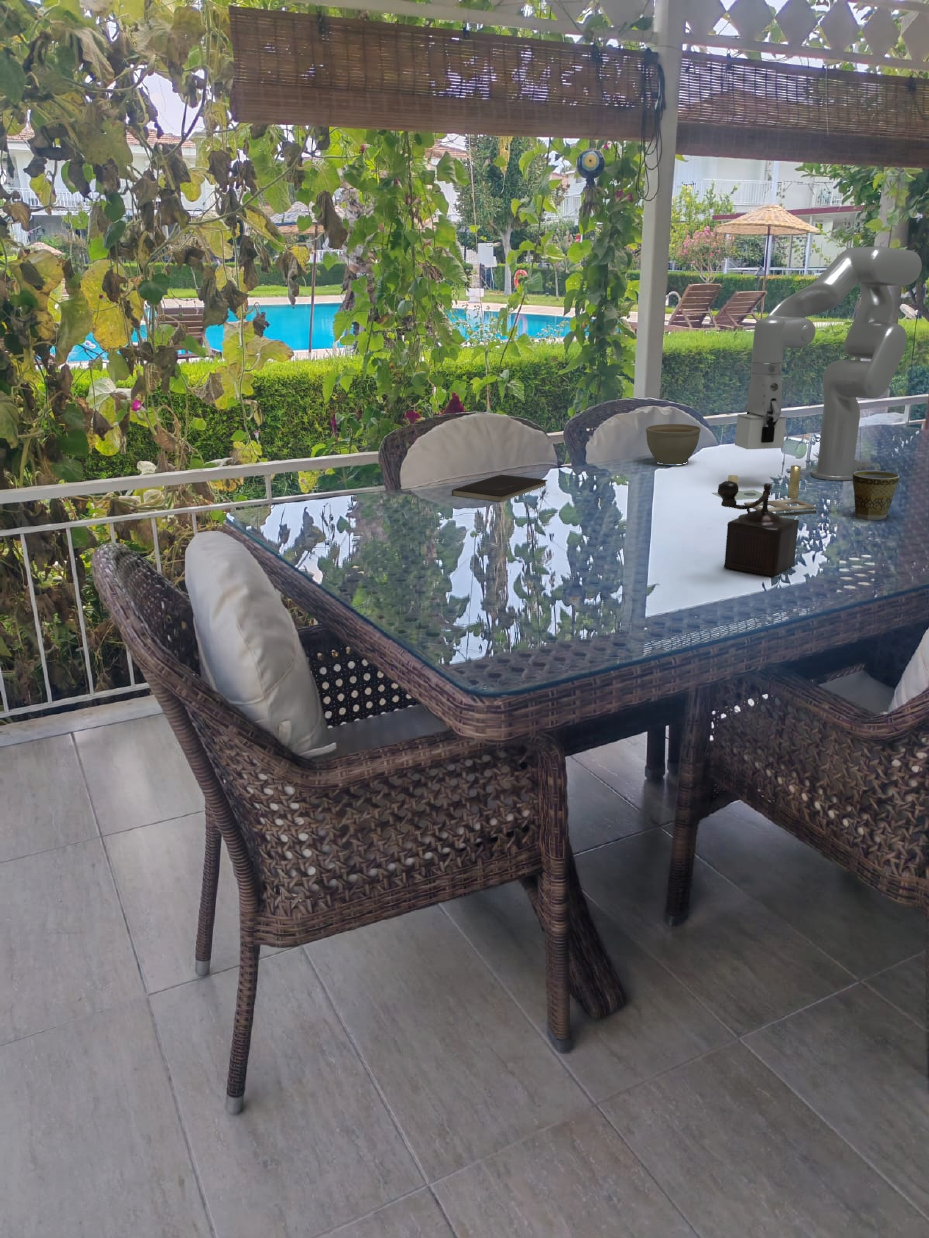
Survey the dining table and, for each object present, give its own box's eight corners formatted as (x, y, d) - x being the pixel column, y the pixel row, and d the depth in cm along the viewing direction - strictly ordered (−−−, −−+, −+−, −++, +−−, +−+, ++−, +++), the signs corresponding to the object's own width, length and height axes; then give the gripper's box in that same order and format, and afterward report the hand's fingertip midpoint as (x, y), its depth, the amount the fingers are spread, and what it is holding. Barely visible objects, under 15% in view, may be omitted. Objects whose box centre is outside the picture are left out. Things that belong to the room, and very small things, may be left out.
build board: (796, 505, 232) (796, 498, 232) (816, 513, 224) (816, 506, 223) (743, 509, 230) (744, 502, 229) (761, 517, 221) (762, 510, 221)
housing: (769, 443, 249) (772, 413, 247) (783, 448, 243) (786, 416, 240) (734, 445, 247) (737, 414, 245) (747, 449, 241) (750, 417, 238)
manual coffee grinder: (743, 556, 192) (750, 468, 186) (796, 565, 185) (805, 475, 179) (707, 574, 181) (713, 481, 175) (761, 585, 174) (770, 489, 168)
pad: (753, 494, 244) (755, 470, 242) (771, 502, 236) (773, 477, 234) (710, 497, 242) (712, 473, 240) (726, 505, 234) (728, 480, 232)
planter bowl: (635, 461, 292) (636, 425, 288) (681, 457, 296) (683, 422, 293) (660, 470, 277) (662, 433, 274) (708, 466, 282) (711, 429, 278)
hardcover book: (547, 488, 260) (547, 479, 260) (501, 504, 243) (501, 495, 242) (499, 482, 269) (499, 474, 268) (451, 497, 252) (451, 488, 251)
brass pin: (794, 500, 237) (797, 465, 234) (799, 502, 235) (803, 466, 232) (785, 501, 237) (789, 465, 234) (790, 503, 234) (794, 467, 231)
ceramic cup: (898, 522, 214) (904, 479, 211) (851, 521, 216) (857, 478, 213) (886, 509, 226) (891, 468, 223) (842, 508, 228) (847, 467, 225)
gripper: (797, 372, 231) (790, 444, 237) (763, 366, 247) (756, 434, 253) (769, 373, 230) (762, 446, 236) (736, 367, 246) (730, 435, 252)
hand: (759, 439), depth 245 cm, fingers closed on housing, 7 cm apart
